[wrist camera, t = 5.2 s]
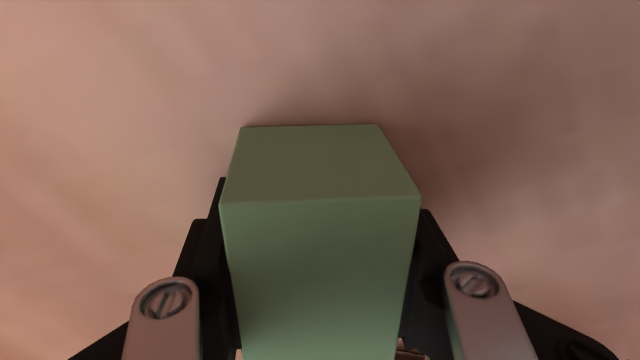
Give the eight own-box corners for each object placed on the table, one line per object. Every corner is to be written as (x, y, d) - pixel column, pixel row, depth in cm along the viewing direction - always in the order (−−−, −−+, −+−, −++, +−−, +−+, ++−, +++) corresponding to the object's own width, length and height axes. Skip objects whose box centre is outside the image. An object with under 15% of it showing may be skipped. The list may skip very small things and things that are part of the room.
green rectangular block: (239, 126, 10) (216, 203, 7) (379, 122, 11) (423, 195, 7) (256, 281, 13) (246, 390, 10) (365, 275, 14) (392, 379, 10)
